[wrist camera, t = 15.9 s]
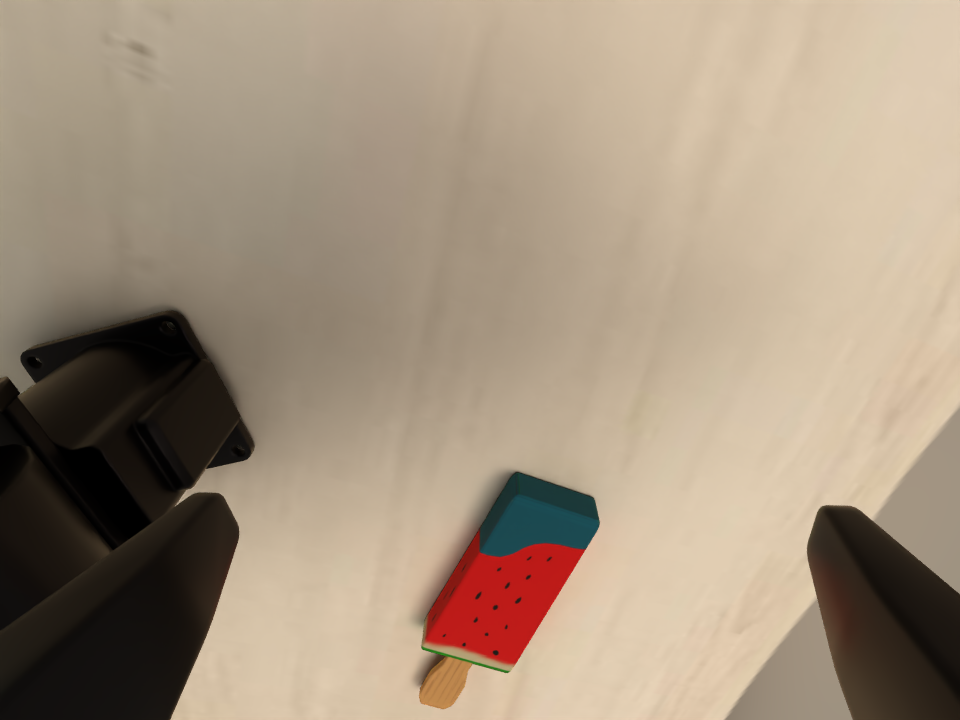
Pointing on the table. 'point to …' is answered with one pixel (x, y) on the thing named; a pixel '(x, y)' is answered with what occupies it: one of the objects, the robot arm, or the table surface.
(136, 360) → the robot arm
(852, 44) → the table surface
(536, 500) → the popsicle
